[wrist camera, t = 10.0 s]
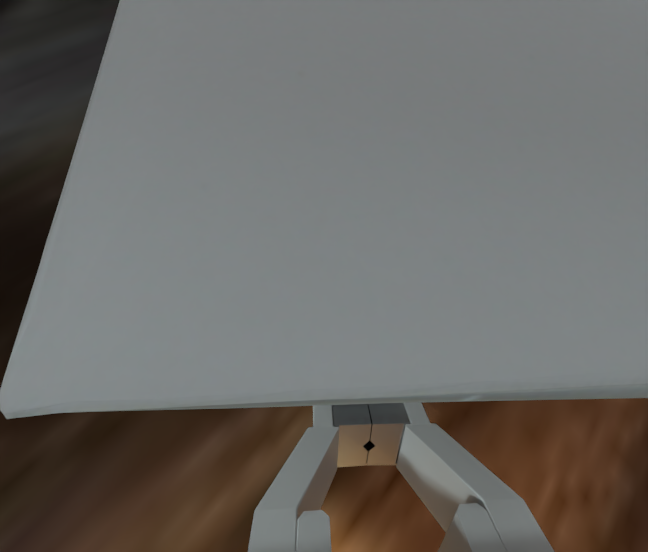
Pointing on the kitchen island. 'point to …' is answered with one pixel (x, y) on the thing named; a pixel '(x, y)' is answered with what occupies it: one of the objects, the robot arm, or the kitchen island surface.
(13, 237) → the kitchen island surface
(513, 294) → the supplement box
